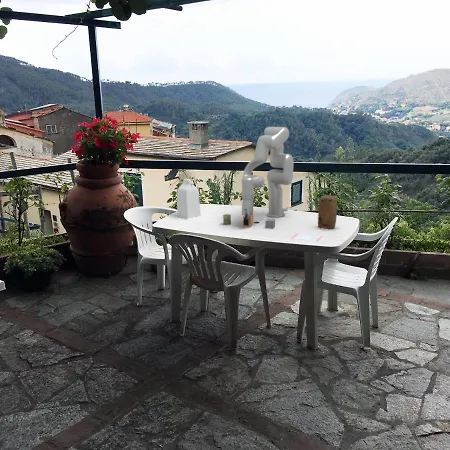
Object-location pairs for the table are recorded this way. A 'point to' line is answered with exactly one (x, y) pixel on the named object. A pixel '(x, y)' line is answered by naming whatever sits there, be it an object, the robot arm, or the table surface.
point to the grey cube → (270, 223)
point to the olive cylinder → (227, 219)
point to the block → (327, 211)
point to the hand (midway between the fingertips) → (248, 223)
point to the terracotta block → (250, 220)
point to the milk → (188, 200)
